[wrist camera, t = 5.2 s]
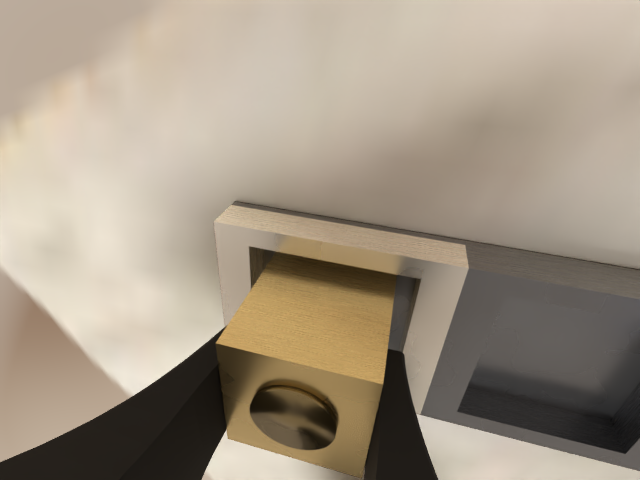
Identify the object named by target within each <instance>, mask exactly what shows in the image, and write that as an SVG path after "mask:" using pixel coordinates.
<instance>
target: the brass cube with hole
mask: <svg viewBox="0 0 640 480" xmlns="http://www.w3.org/2000/svg"><path fill="white" fill-rule="evenodd" d="M396 278H397V274H391V273H386V272H381V271H376V270H370V269H365V268H360V267H355V266H350V265H344V264H339V263H334V262H329V261H323V260H318V259H313V258H308V257H303V256H297V255H292V254H287V253H282V252H275V254H274V255H273V257H272V258H271V260H270V262H269V263H268V265H267V266H266V268H265V269H264V271H263V272H262V274H261V275H260V277H259V278H258V280H257V281H256V283H255V284H254V286H253V287H252V289H251V290H250V292H249V293H248V295H247V296H246V298H245V299H244V301H243V302H242V304H241V305H240V307H239V308H238V310H237V311H236V313H235V315H234V316H233V318H232V319H231V321H230V322H229V324H228V325H227V327H226V328H225V330H224V331H223V333H222V334H221V336H220V337H219V339H218V340H217V342H216V350H217V358H218V366H219V373H220V381H221V389H222V397H223V405H224V413H225V420H226V428H227V436H228V439H231V440H234V441H238V442H241V443H244V444H248V445H251V446H254V447H258V448H261V449H265V450H268V451H271V452H275V453H278V454H281V455H285V456H288V457H292V458H295V459H298V460H302V461H305V462H308V463H312V464H315V465H319V466H322V467H325V468H329V469H332V470H336V471H339V472H342V473H346V474H349V475H352V476H356V477H359V478H362V475H363V471H364V466H365V462H366V458H367V453H368V449H369V445H370V440H371V436H372V431H373V427H374V423H375V418H376V414H377V409H378V405H379V401H380V396H381V392H382V388H383V382H384V374H385V366H386V358H387V350H388V342H389V334H390V326H391V318H392V310H393V302H394V294H395V286H396Z"/></svg>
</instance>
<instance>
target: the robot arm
mask: <svg viewBox="0 0 640 480" xmlns="http://www.w3.org/2000/svg"><path fill="white" fill-rule="evenodd" d="M226 327H227V326H226ZM226 327H224V328H223V329H222V330H221V331H220V332H219V333H217V334H216V335H215V336H214V337H213V338H211V339H210V340H209V341H208V342H207V343H205V344H204V345H203V346H202V347H201V348H199V349H198V350H197V351H196V352H194V353H193V354H192V355H191V356H189V357H188V358H187V359H185V360H184V361H183V362H182V363H180V364H179V365H177V366H176V367H175V368H173V369H172V370H171V371H169V372H168V373H167V374H165V375H164V376H162V377H161V378H160V379H158V380H157V381H155V382H154V383H152V384H151V385H149V386H148V387H146V388H145V389H143V390H142V391H140V392H139V393H137V394H135V395H134V396H132V397H131V398H129V399H128V400H126V401H124V402H122V403H121V404H119V405H117V406H116V407H114V408H112V409H110V410H109V411H107V412H105V413H103V414H102V415H100V416H98V417H96V418H94V419H93V420H91V421H89V422H87V423H85V424H83V425H81V426H79V427H77V428H75V429H73V430H71V431H69V432H67V433H65V434H63V435H61V436H59V437H57V438H55V439H53V440H51V441H48V442H46V443H44V444H42V445H40V446H38V447H36V448H33V449H31V450H28V451H26V452H23V453H21V454H19V455H16V456H14V457H12V458H9V459H7V460H5V461H2V462H0V480H201V479H202V477H203V475H204V472H205V470H206V468H207V466H208V464H209V462H210V459H211V457H212V455H213V453H214V451H215V450H216V448H217V446H218V444H219V442H220V440H221V438H222V437H223V435H224V433H225V431H226V429H227V428H226V420H225V413H224V405H223V397H222V389H221V381H220V373H219V366H218V358H217V350H216V342H217V340H218V339H219V337H220V336H221V334H222V333H223V331H224V330H225V328H226ZM364 480H438V478H437V475H436V473H435V470H434V467H433V465H432V462H431V459H430V456H429V454H428V451H427V448H426V445H425V442H424V439H423V436H422V432H421V429H420V426H419V423H418V419H417V415H416V412H415V408H414V405H413V401H412V397H411V393H410V388H409V383H408V378H407V372H406V365H405V355H404V354H403V353H402V352H401V351H396V350H392V349H388V350H387V358H386V366H385V374H384V382H383V388H382V392H381V396H380V401H379V405H378V409H377V414H376V418H375V423H374V427H373V431H372V436H371V440H370V445H369V449H368V453H367V458H366V462H365V475H364Z"/></svg>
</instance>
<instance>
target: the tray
mask: <svg viewBox="0 0 640 480" xmlns="http://www.w3.org/2000/svg"><path fill="white" fill-rule="evenodd" d="M214 231H215V240H216V249H217V259H218V268H219V277H220V287H221V296H222V305H223V314H224V324H225V327H226V326H227V325H228V324H229V322H230V321H231V319H232V318H233V316H234V315H235V313H236V311H237V310H238V308H239V307H240V305H241V304H242V302H243V301H244V299H245V298H246V296H247V295H248V293H249V292H250V290H251V289H252V287H253V286H254V284H255V283H256V281H257V280H258V278H259V277H260V275H261V274H262V272H263V271H264V269H265V268H266V266H267V265H268V263H269V262H270V260H271V258H272V257H273V255H274V254H275V252H282V253H287V254H292V255H297V256H303V257H308V258H313V259H318V260H323V261H329V262H334V263H339V264H344V265H350V266H355V267H360V268H365V269H370V270H376V271H381V272H386V273H391V274H397V278H396V286H395V294H394V302H393V310H392V318H391V326H390V334H389V342H388V349H392V350H396V351H401V352H402V353H403V354H404V355H405V365H406V372H407V378H408V383H409V388H410V393H411V397H412V401H413V405H414V408H415V412H416V414H419V415H423V416H427V417H431V418H435V419H439V420H443V421H447V422H451V423H454V424H458V425H462V426H466V427H470V428H474V429H478V430H482V431H486V432H490V433H493V434H497V435H501V436H505V437H509V438H513V439H517V440H521V441H525V442H528V443H532V444H536V445H540V446H544V447H548V448H552V449H556V450H560V451H564V452H567V453H571V454H575V455H579V456H583V457H587V458H591V459H595V460H599V461H603V462H606V463H610V464H614V465H618V466H622V467H626V468H630V469H634V470H638V471H640V270H637V269H631V268H625V267H619V266H613V265H607V264H601V263H595V262H589V261H584V260H578V259H572V258H566V257H560V256H554V255H548V254H542V253H536V252H530V251H525V250H519V249H513V248H507V247H501V246H495V245H489V244H483V243H477V242H471V241H466V240H460V239H454V238H448V237H442V236H436V235H430V234H424V233H418V232H412V231H407V230H401V229H395V228H389V227H383V226H377V225H371V224H365V223H359V222H353V221H348V220H342V219H336V218H330V217H324V216H318V215H312V214H306V213H300V212H294V211H288V210H283V209H277V208H271V207H265V206H259V205H253V204H247V203H241V202H234V203H233V204H232V205H231V206H230V207H228V208H227V209H226V210H225V211H224V212H223V213H222V214H221V215H220V216H219V217H218V218H217V219H216V220H215V221H214Z"/></svg>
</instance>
